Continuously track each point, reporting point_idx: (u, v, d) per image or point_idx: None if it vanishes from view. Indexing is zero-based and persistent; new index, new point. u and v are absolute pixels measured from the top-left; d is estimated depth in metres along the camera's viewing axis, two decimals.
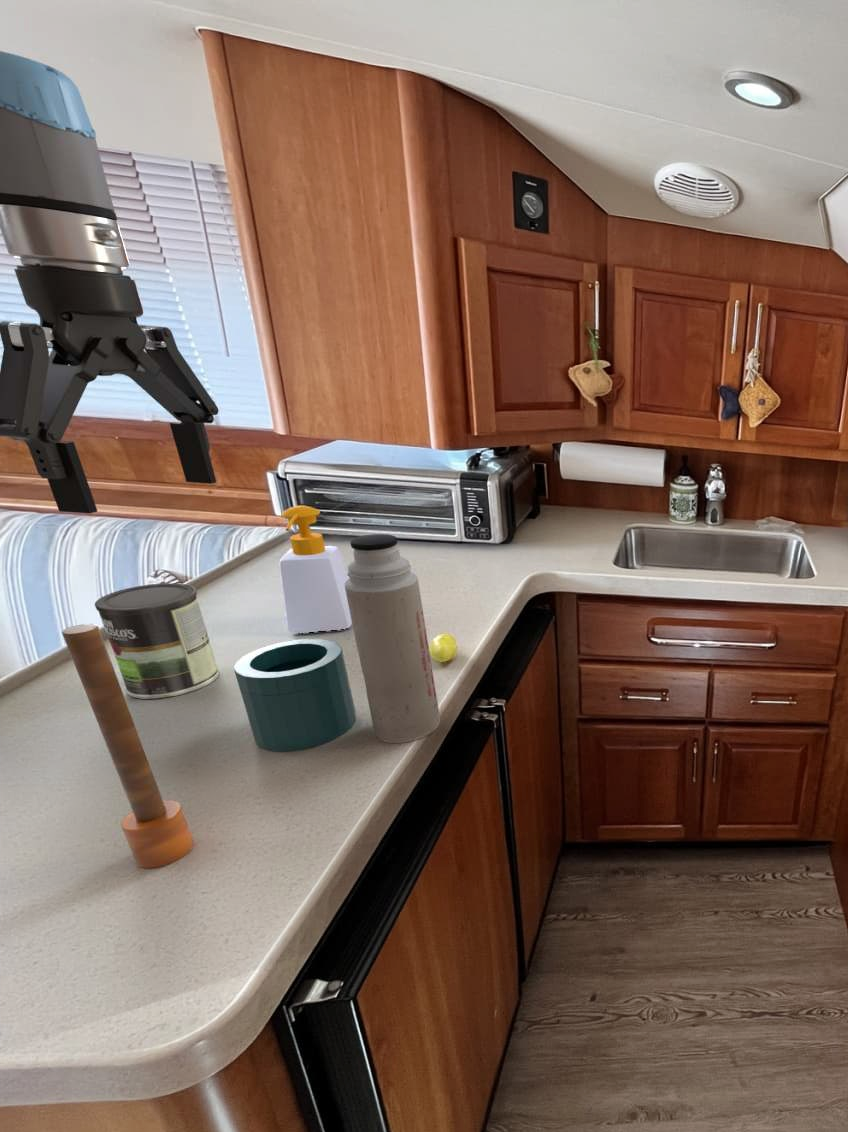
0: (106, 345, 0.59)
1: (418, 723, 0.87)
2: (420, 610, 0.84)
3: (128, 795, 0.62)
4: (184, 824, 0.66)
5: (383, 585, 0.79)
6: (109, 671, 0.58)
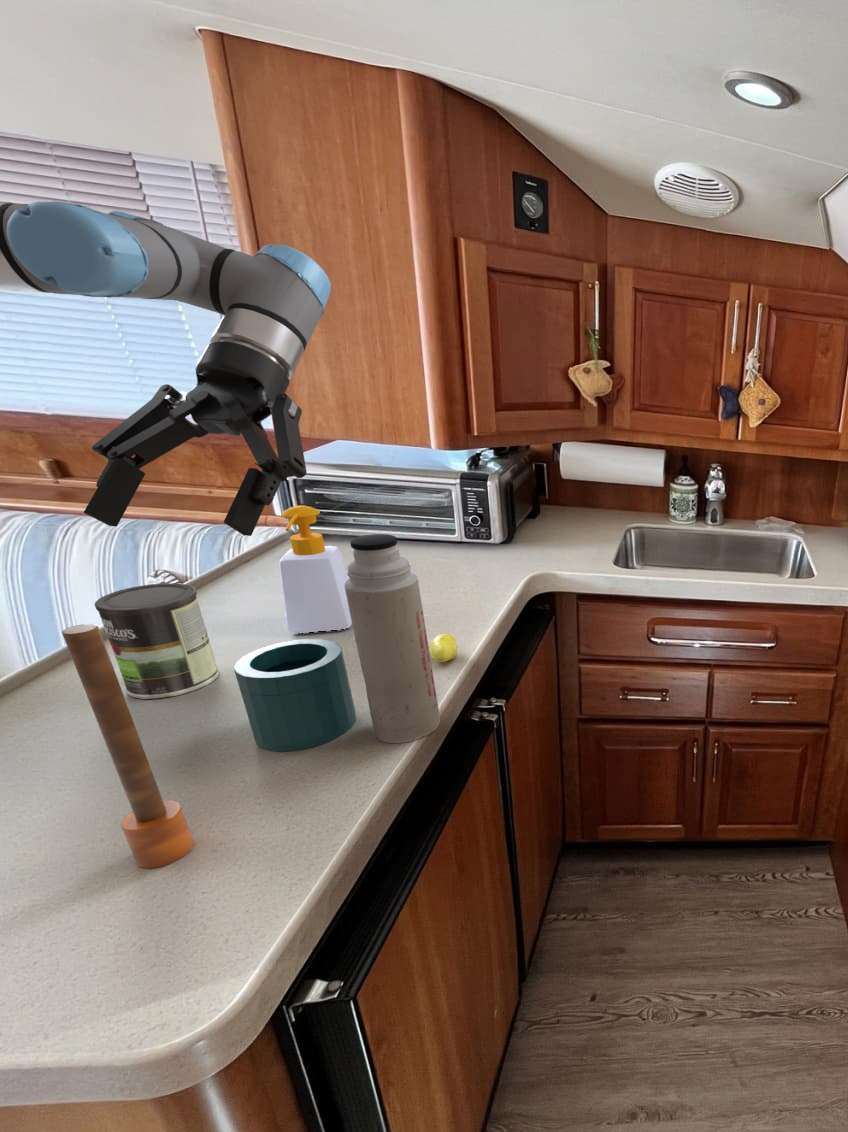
0: None
1: (418, 723, 0.87)
2: (420, 610, 0.84)
3: (128, 795, 0.62)
4: (184, 824, 0.66)
5: (383, 585, 0.79)
6: (109, 671, 0.58)
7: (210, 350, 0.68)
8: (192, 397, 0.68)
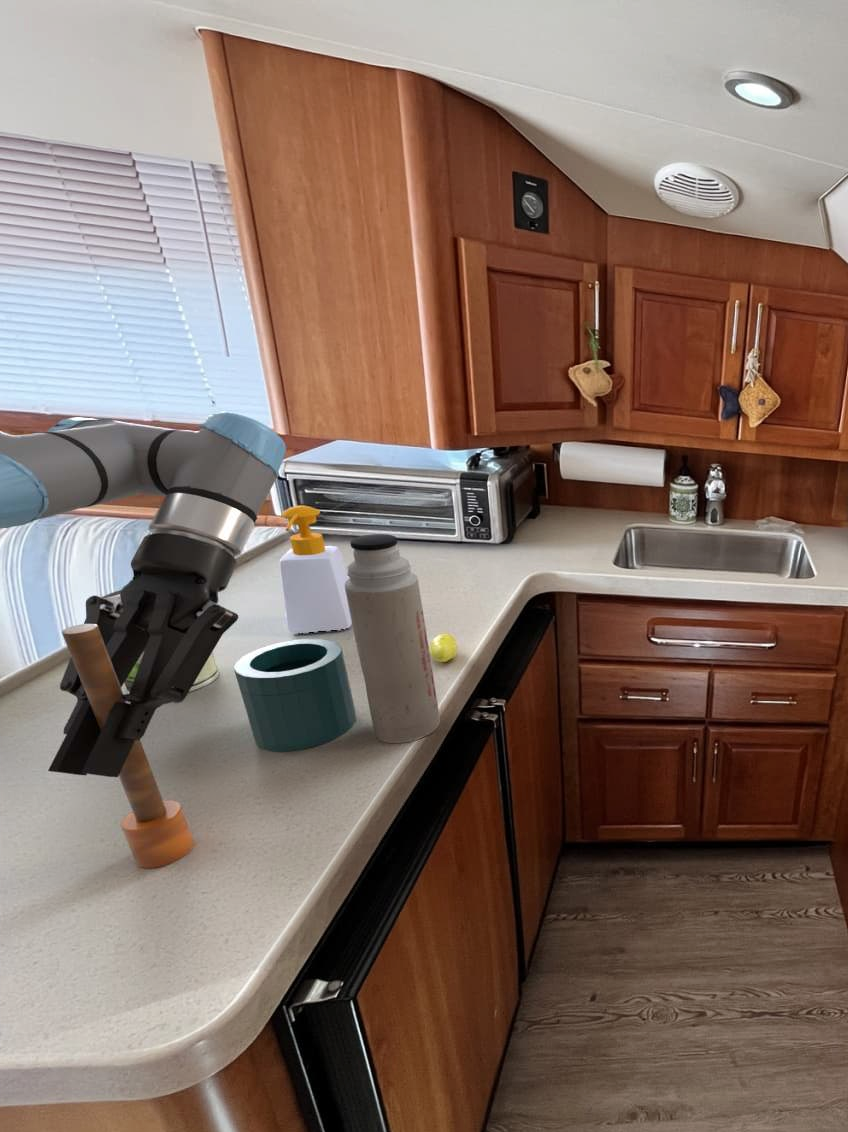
0: None
1: (418, 723, 0.87)
2: (420, 610, 0.84)
3: (128, 795, 0.62)
4: (184, 824, 0.66)
5: (383, 585, 0.79)
6: (109, 671, 0.58)
7: (147, 545, 0.63)
8: (128, 601, 0.62)
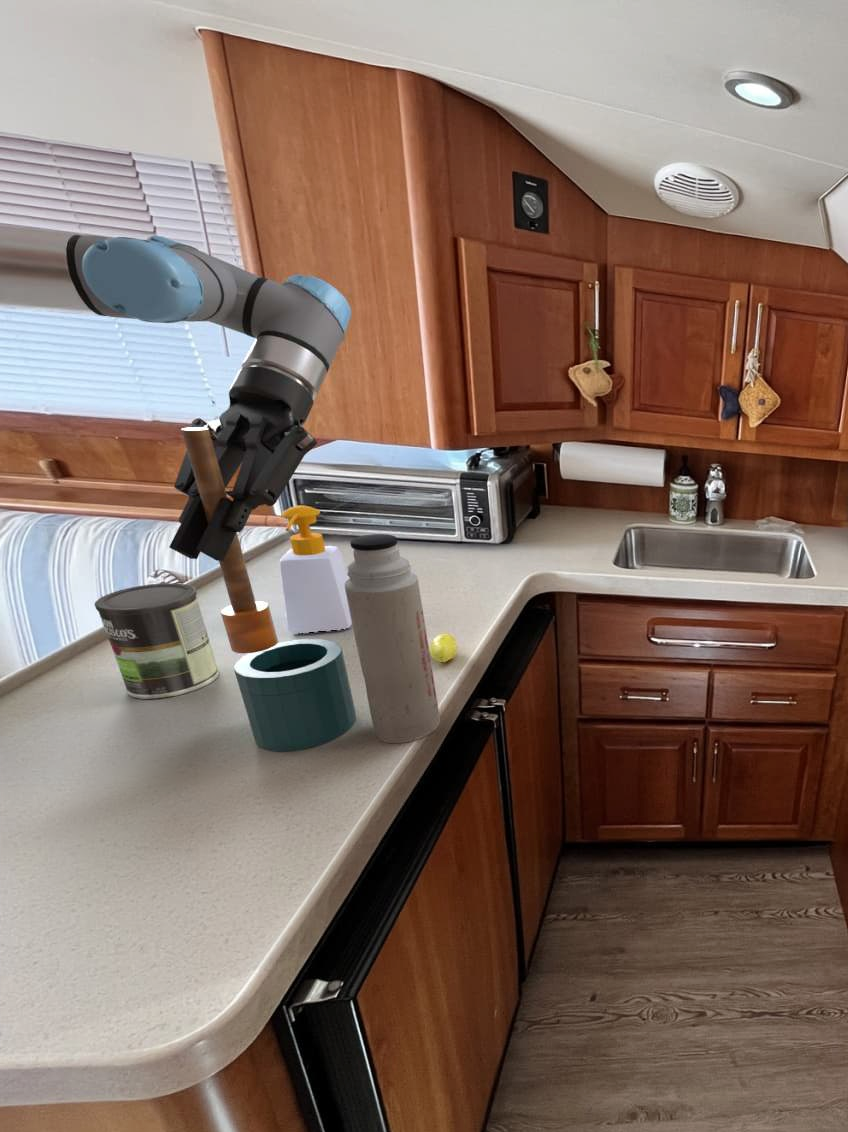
0: None
1: (418, 723, 0.87)
2: (420, 610, 0.84)
3: (228, 585, 0.73)
4: (271, 620, 0.77)
5: (383, 585, 0.79)
6: (217, 469, 0.70)
7: (242, 375, 0.74)
8: (227, 421, 0.74)
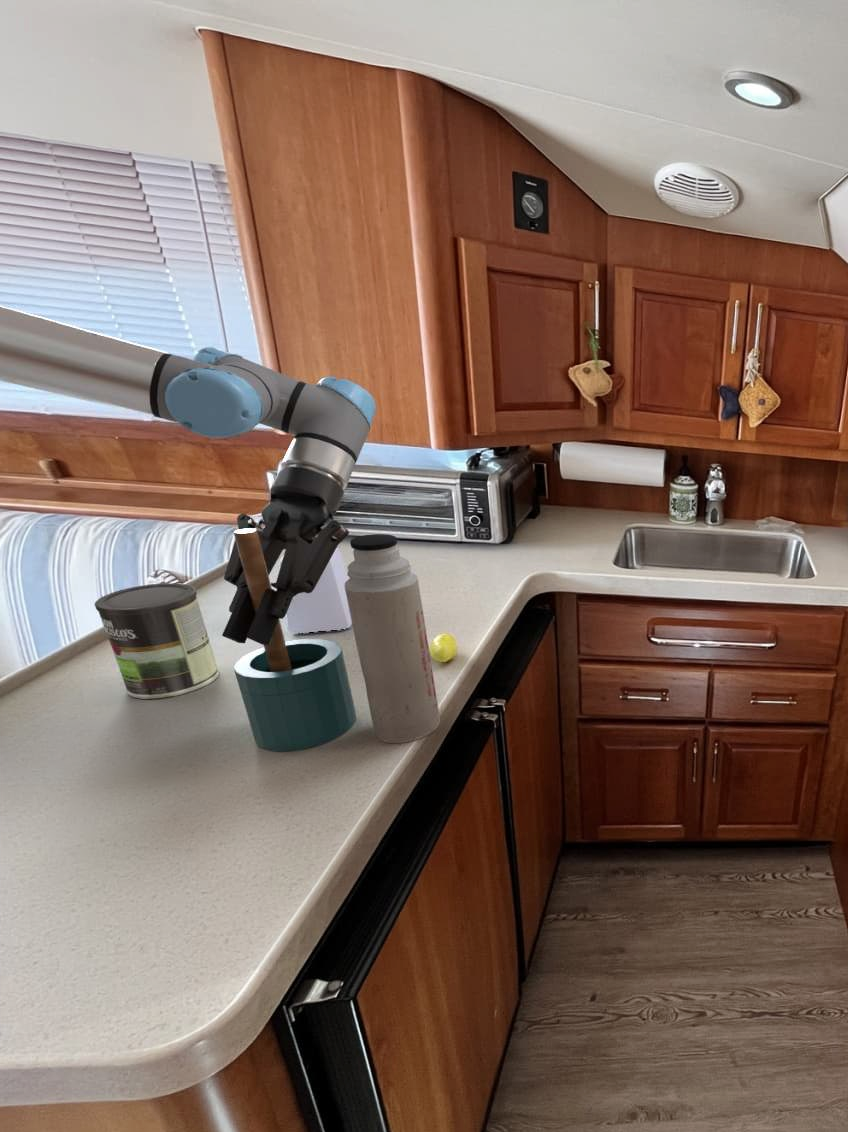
0: None
1: (418, 723, 0.87)
2: (420, 610, 0.84)
3: (270, 663, 0.82)
4: None
5: (383, 585, 0.79)
6: (263, 565, 0.79)
7: (283, 475, 0.83)
8: (270, 517, 0.83)
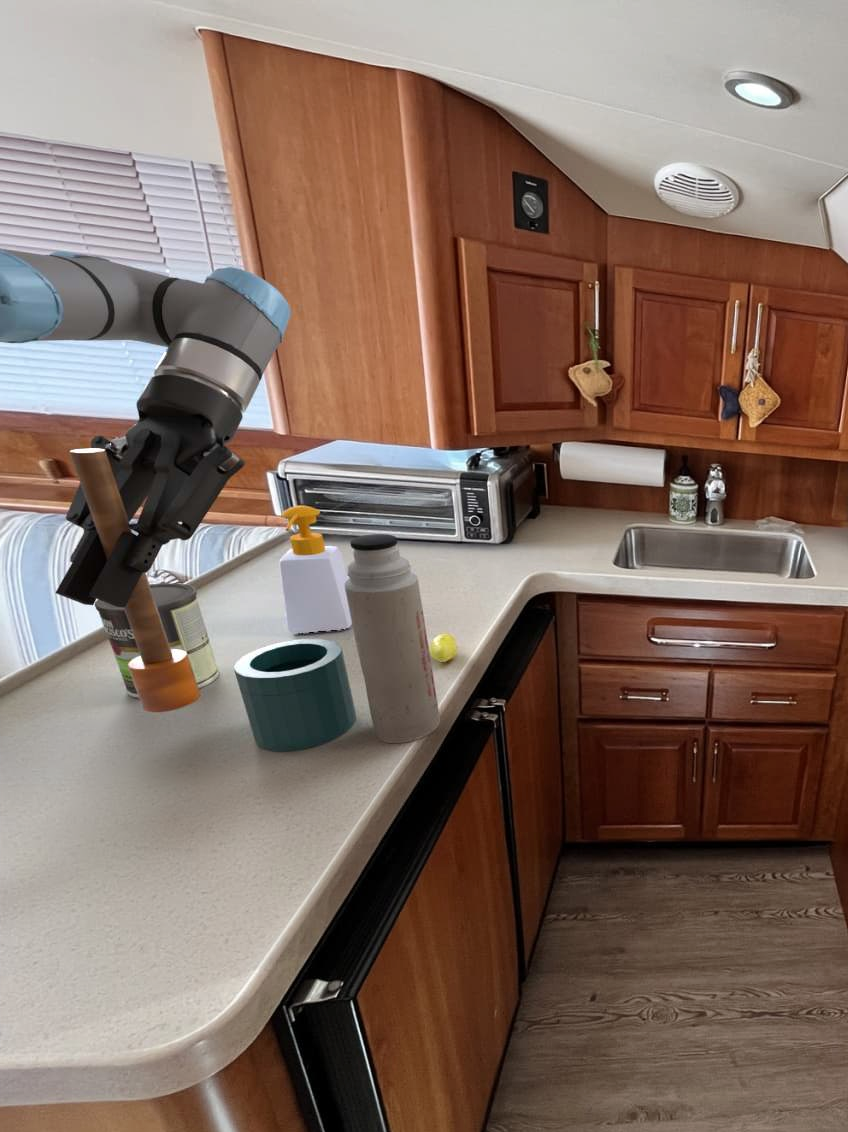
0: None
1: (418, 723, 0.87)
2: (420, 610, 0.84)
3: (135, 634, 0.62)
4: (191, 672, 0.66)
5: (383, 585, 0.79)
6: (116, 498, 0.58)
7: (152, 385, 0.63)
8: (134, 439, 0.62)
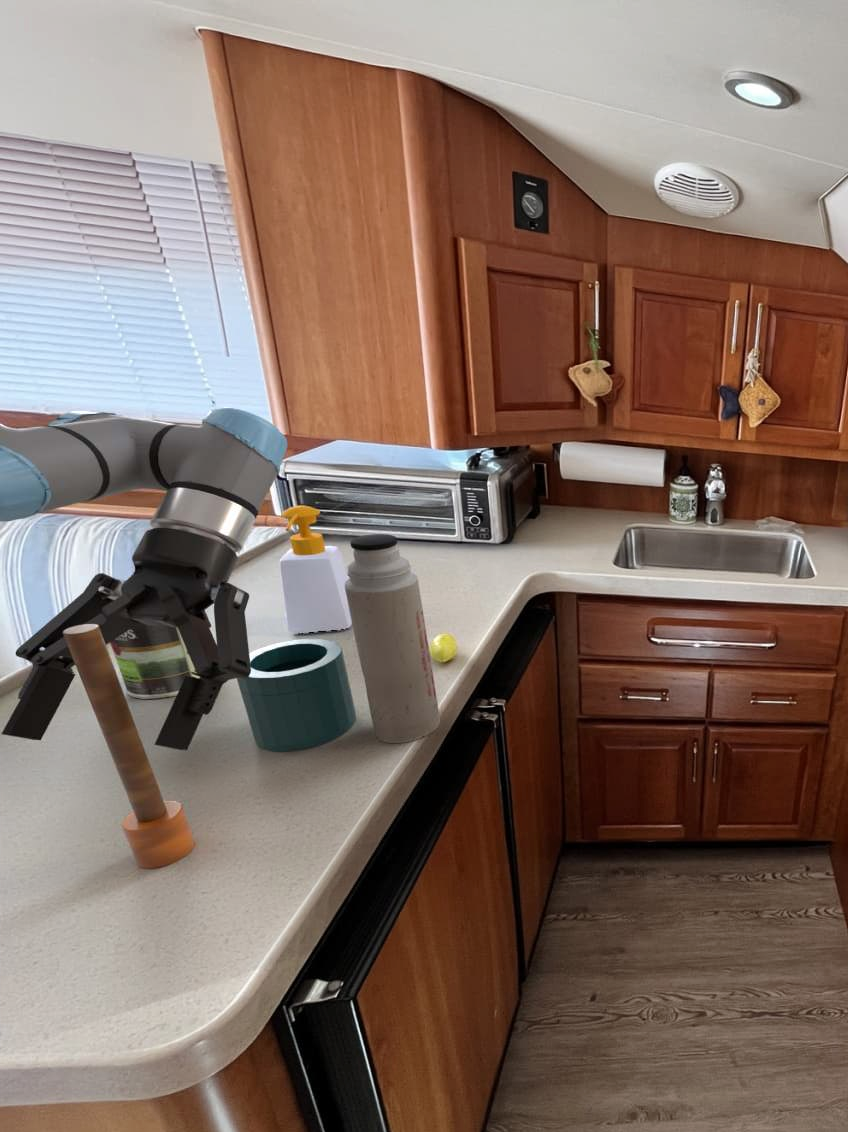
0: None
1: (418, 723, 0.87)
2: (420, 610, 0.84)
3: (129, 795, 0.62)
4: (185, 824, 0.66)
5: (383, 585, 0.79)
6: (110, 671, 0.58)
7: (148, 540, 0.63)
8: (127, 591, 0.63)
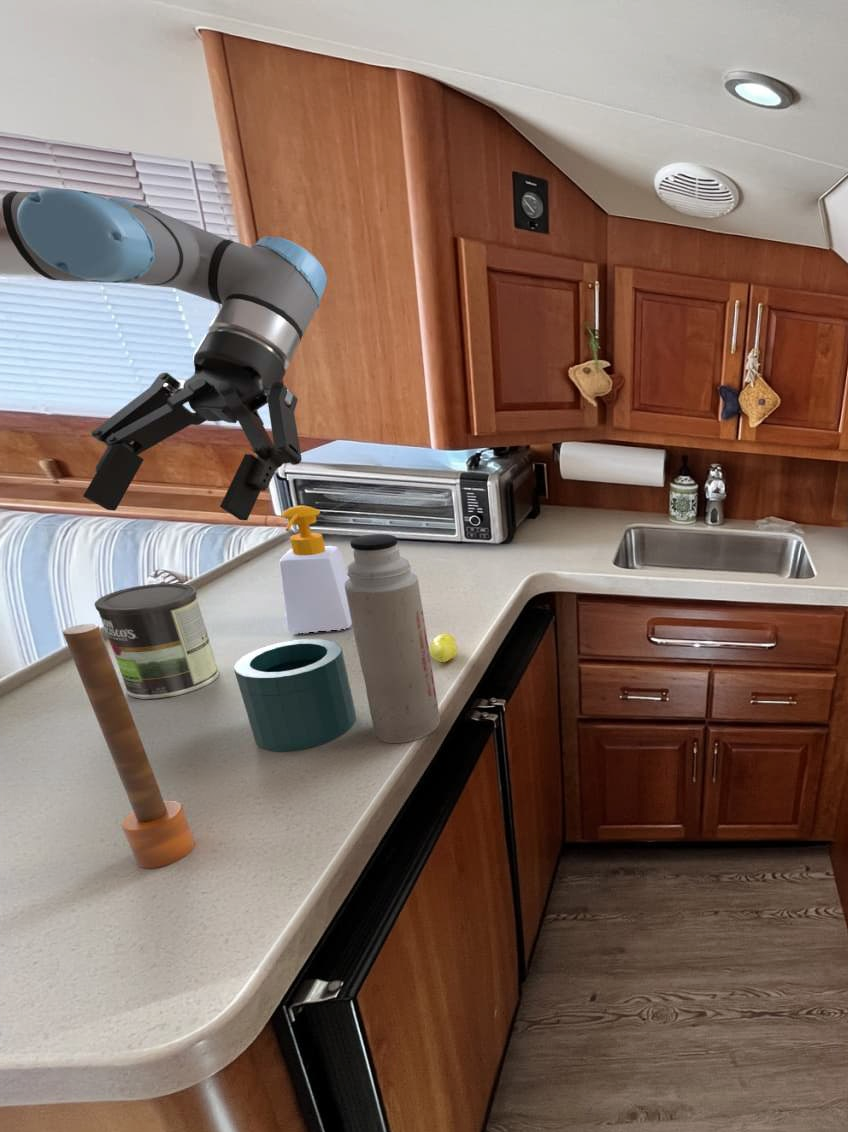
0: None
1: (418, 723, 0.87)
2: (420, 610, 0.84)
3: (129, 795, 0.62)
4: (185, 824, 0.66)
5: (383, 585, 0.79)
6: (110, 671, 0.58)
7: (208, 340, 0.70)
8: (190, 385, 0.69)
